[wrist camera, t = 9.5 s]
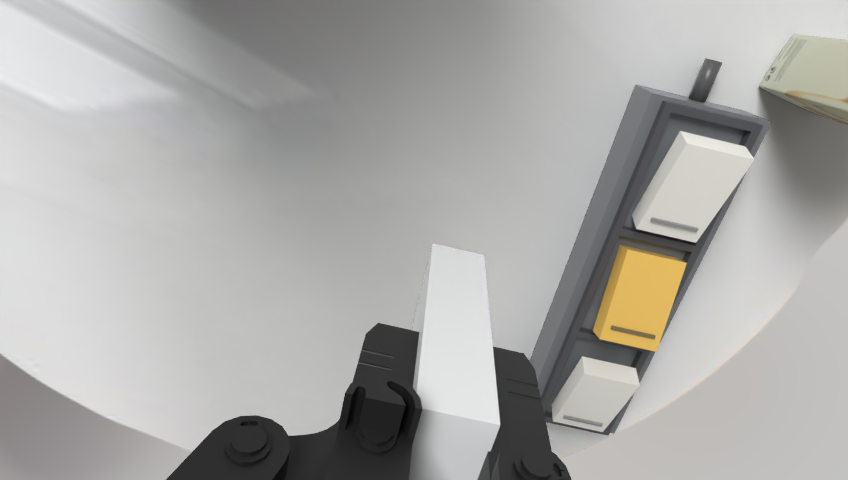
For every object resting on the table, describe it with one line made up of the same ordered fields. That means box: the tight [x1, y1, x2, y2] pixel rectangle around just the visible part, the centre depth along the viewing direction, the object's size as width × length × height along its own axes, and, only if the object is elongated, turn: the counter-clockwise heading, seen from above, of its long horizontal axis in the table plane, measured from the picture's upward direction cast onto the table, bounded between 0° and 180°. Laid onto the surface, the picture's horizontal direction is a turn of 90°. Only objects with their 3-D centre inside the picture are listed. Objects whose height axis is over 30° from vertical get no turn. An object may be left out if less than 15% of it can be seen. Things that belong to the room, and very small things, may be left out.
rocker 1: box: [551, 356, 640, 432], centre depth 47 cm, size 8×5×2 cm, turn 167°
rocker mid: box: [593, 245, 687, 352], centre depth 43 cm, size 8×5×2 cm, turn 168°
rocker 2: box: [632, 131, 755, 243], centre depth 39 cm, size 8×5×2 cm, turn 167°
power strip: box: [529, 59, 771, 435], centre depth 45 cm, size 34×9×5 cm, turn 167°
